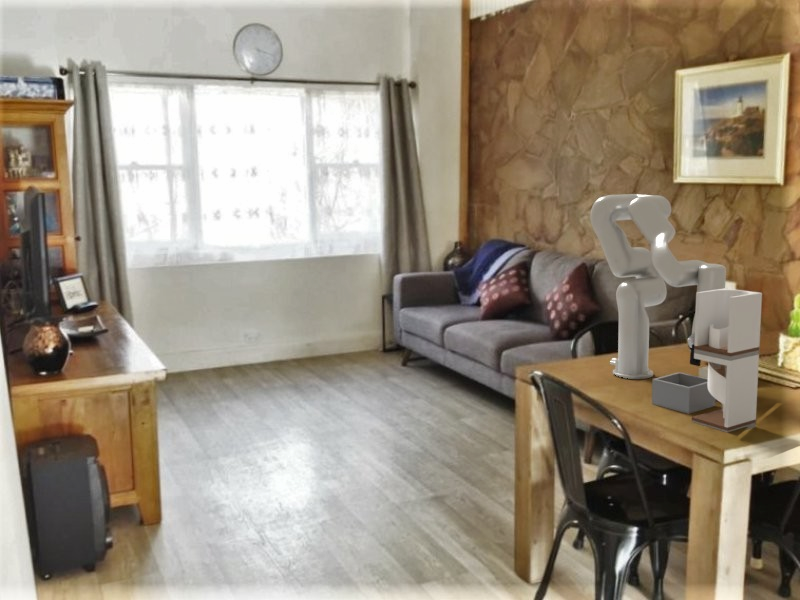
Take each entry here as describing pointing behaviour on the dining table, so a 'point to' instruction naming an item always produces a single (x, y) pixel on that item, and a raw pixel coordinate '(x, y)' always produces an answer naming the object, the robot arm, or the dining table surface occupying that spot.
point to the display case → (729, 354)
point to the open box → (682, 393)
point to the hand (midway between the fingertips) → (705, 362)
